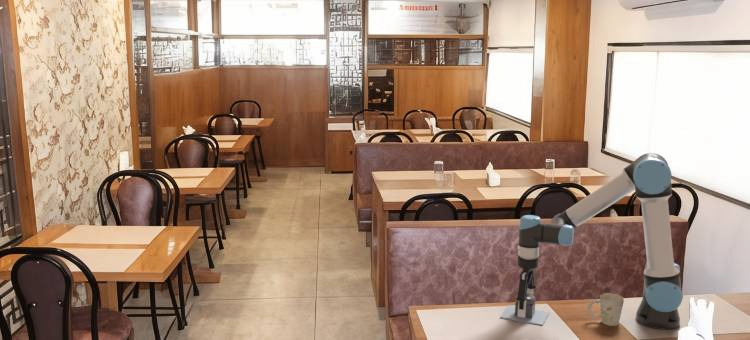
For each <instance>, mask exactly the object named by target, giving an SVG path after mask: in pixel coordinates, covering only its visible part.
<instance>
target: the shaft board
mask: <svg viewBox="0 0 750 340" xmlns="http://www.w3.org/2000/svg"><path fill="white" fill-rule="evenodd" d="M549 315H550V311H544V310H539V309H535V313H534V315H533V317H532V319H529V318H523V317H517V316H515V305H510V304H508V305H507V306H506V308H505V309H504V311H502V314H500V316H499V318H500V319H503V318H504V320H508V321H509V320H510V321H516V322H519V323H520V322H521V323H526V324H532V325H537V326H544V324H545V323H546V320H547V319H548V317H549Z"/></svg>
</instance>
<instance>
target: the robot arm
mask: <svg viewBox="0 0 750 340" xmlns="http://www.w3.org/2000/svg"><path fill="white" fill-rule="evenodd" d="M671 170H672V169H671V167H670V165H669V163H668V161H667V160H666V159H665V157H664V156H662V155H660V154H658V153H654V152H647V153H643V154H641V155H640V156H638V157H637V158H636V159H635V160H634V161H633V162H631V163H630V164H628V165H627V166H625V167H624V168H622V173H620V174H619V175H617V176H615V177H614V178H613V179H611V180H610V181H608V182H606V183H605V184H604V185H602V186H601V187H599V188H598V189H596V190H594V191H593V192H592V193H589V194H588V195H587V196H585V197H584V198H582V199H581V200H579V201H578V202H576V203H575V204H573V205H572V206H570V207H569V208H567V209H566V210H564V211H563V212H561V213H557V214H556V215H554V216H553V217H552V219H550V220H551V221H550V222H548V223H547V222H542V221H541V217H540V216H538V215H534V214H526V215H522V216H521V217H520V218H519V227H518V246H517V247H516V249H517V250H518V251H517V254H518V256H517V266H518V268H521V269H522V271H520V274H519V283H518V289H517V290H518V291H517V295H518V297H517V298H516V297H515V301H516V300H518V317H523V318H525V312H526V294H530V295H533V296H534V290H536V287H537V286H536V280H535V269H538V267H539V257H540V244H549V245H557V246H561V247H562V246H563V247H564V246H565V247H566V246H568V247H570V246H572V245H573V242H574V235H575V229H576V228H578V227H579V226H580V225H582V224H584V223H585V222H587V221H588V220H590V219H591V218H593V217H595V216H596V215H598V214H599V213H601V212H602V211H603V212H604V210H606V209H607V208H609V207H611V206H612V205H614V204H615V203H616V202H618V201H620V200H621V199H623V198H625V197H626V196H627V195H630V194H631V193H632V192H634V191H635V192H634V193H635V197H636V198H637V199H638V200H639V201H640V204H641V215H642V225H643V234H644V235H643V236H644V245H645V254H646V255H645V256H646V263H645V266H644V270H643V279H644V281H643V292H642V299H641V301H640V303H639V306H638V308H637V309H636V312H635V313H636V314H635V319H636V321H637V322H638V323H640V324H642V325H643V326H646V327H647V326H648V327H650V328H653V329H654V328H655V329H659V330H660V329H661V330H671V329H672V328H673V329H677V328H678V327H680V323H681V317H680V313H679V310H678V308H679V307H680V306H681V305H682V302H683V299H684V296H683V291H682V283H681V269H680V265H679V264H677V263H675V262H674V261H675V259H674V251H673V250H674V249H673V241H672V240H673V239H672V231H671V230H672V229H671V228H672V227H671V221H670V209H669V199H670V197H672V195H673V190H672V189H673V188H672V175H673V174H672V171H671ZM521 297H522V298H521ZM676 327H677V328H676ZM673 329H672V330H673Z"/></svg>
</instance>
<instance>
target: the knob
mask: <svg viewBox="0 0 750 340" xmlns="http://www.w3.org/2000/svg"><path fill="white" fill-rule="evenodd" d="M517 297H518V294H516V295H515V305H514V306H515V316H517V317H518V300H516V298H517ZM521 298H522V297H521ZM535 310H536V296H535V295H534V294H533V295H530V294H526V312H525V318H529V319H532V317H533V315H534V313H535Z"/></svg>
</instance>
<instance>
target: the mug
mask: <svg viewBox="0 0 750 340" xmlns="http://www.w3.org/2000/svg"><path fill="white" fill-rule="evenodd" d="M624 301H625V299H624V297H623V296H622V295H621V294H617V293H609V292H608V293H607V292H606V293H602V294H600V296H599V299H593V300H591V301H589V302H588V304H587V310H586V311H587V312H588V314H589V315H590V316H592V317H594V318H601V319H600V320H601V323H602V324H603V325H605V326H606V325H607V326H610V327H616V326H618V325H620V319H621V315H622V310H623V306H624ZM594 304H599V305H600V314H595V313H594V312H593V311H592V306H593V305H594Z"/></svg>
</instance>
